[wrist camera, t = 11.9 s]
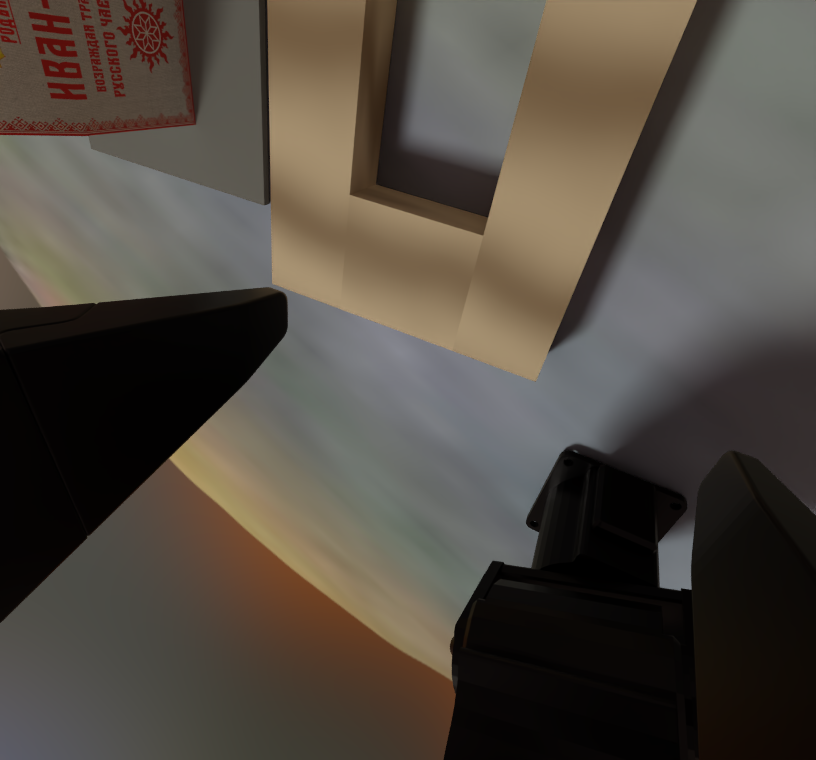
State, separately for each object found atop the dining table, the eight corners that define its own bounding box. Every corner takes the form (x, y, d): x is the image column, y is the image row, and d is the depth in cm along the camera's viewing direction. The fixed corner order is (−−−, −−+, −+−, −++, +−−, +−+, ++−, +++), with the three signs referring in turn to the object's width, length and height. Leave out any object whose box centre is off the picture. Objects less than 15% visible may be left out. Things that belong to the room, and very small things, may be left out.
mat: (268, 203, 24) (264, 205, 24) (97, 147, 27) (91, 148, 26) (260, -211, 16) (253, -217, 15) (12, -231, 18) (1, -237, 18)
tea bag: (138, 108, 24) (-102, 121, 16) (108, -71, 20) (-233, -168, 12) (195, 124, 23) (-29, 147, 15) (176, -59, 19) (-143, -154, 11)
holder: (544, 355, 22) (535, 381, 20) (300, 268, 25) (272, 283, 23) (849, -371, 10) (899, -476, 8) (314, -366, 13) (259, -441, 11)
